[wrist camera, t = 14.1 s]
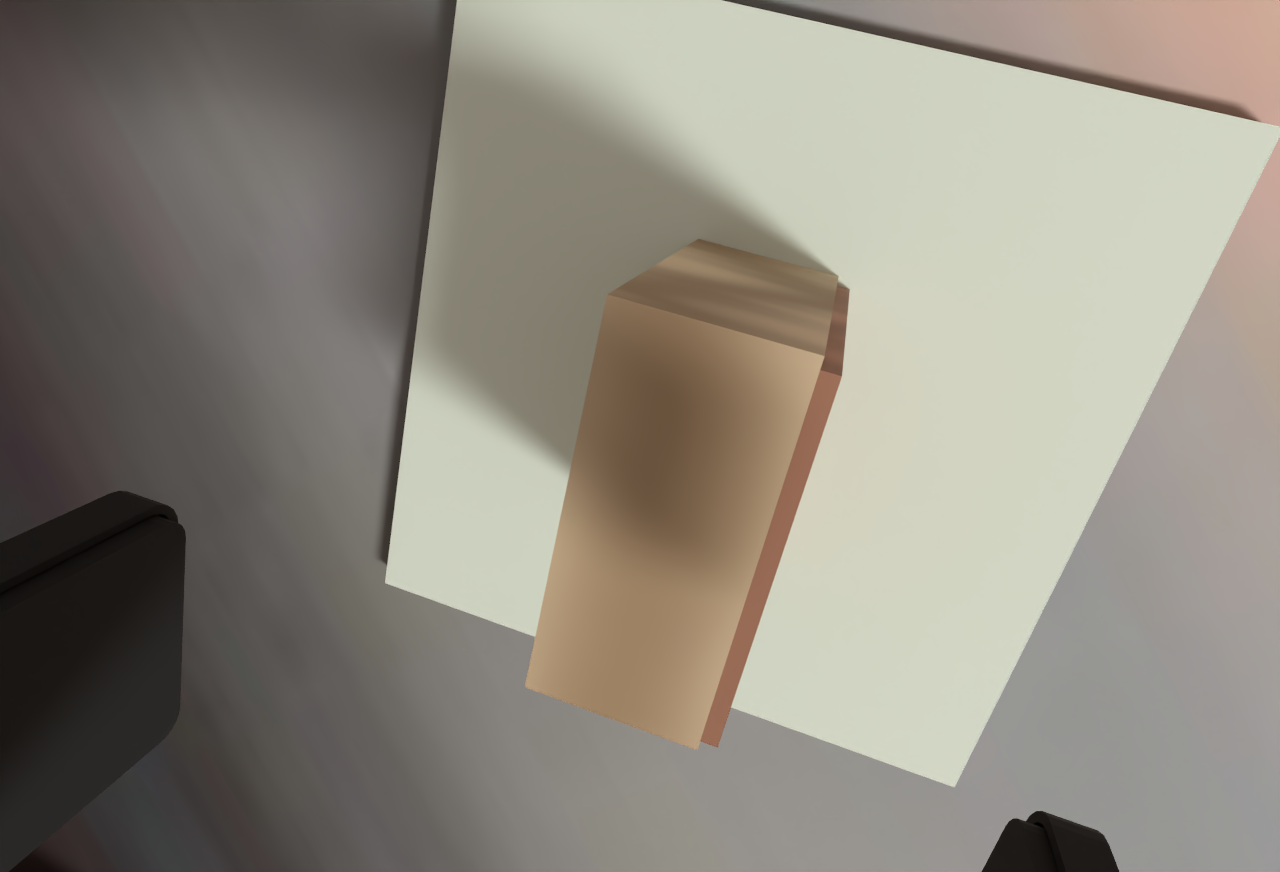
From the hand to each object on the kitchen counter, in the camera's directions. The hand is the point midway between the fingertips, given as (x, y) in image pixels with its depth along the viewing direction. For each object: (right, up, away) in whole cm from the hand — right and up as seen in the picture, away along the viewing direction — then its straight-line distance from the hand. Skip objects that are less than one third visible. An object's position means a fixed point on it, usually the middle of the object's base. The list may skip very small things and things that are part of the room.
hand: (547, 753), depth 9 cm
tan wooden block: (+3, +4, +10) cm, 11 cm away
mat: (+3, +4, +11) cm, 12 cm away
